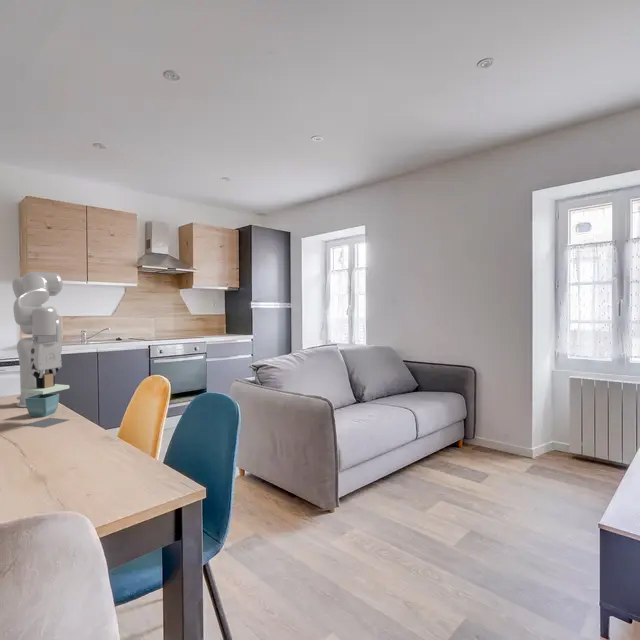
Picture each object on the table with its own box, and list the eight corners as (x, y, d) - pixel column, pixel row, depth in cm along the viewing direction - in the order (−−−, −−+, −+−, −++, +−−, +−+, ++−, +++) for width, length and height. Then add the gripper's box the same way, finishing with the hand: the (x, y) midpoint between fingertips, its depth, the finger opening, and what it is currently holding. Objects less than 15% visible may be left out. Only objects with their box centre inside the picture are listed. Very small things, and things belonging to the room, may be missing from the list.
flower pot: (46, 420, 163) (45, 398, 163) (24, 420, 163) (24, 398, 163) (60, 414, 172) (60, 393, 172) (40, 414, 172) (39, 393, 172)
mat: (22, 428, 152) (22, 425, 152) (49, 420, 163) (49, 417, 163) (44, 430, 149) (44, 427, 149) (70, 422, 159) (70, 419, 159)
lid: (21, 392, 152) (20, 375, 152) (48, 386, 163) (47, 371, 162) (43, 394, 149) (42, 377, 149) (69, 388, 160) (69, 372, 159)
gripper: (30, 342, 146) (32, 392, 147) (71, 338, 162) (72, 383, 163) (15, 341, 148) (16, 390, 149) (56, 337, 164) (57, 382, 165)
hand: (45, 386), depth 156 cm, fingers closed on lid, 3 cm apart
